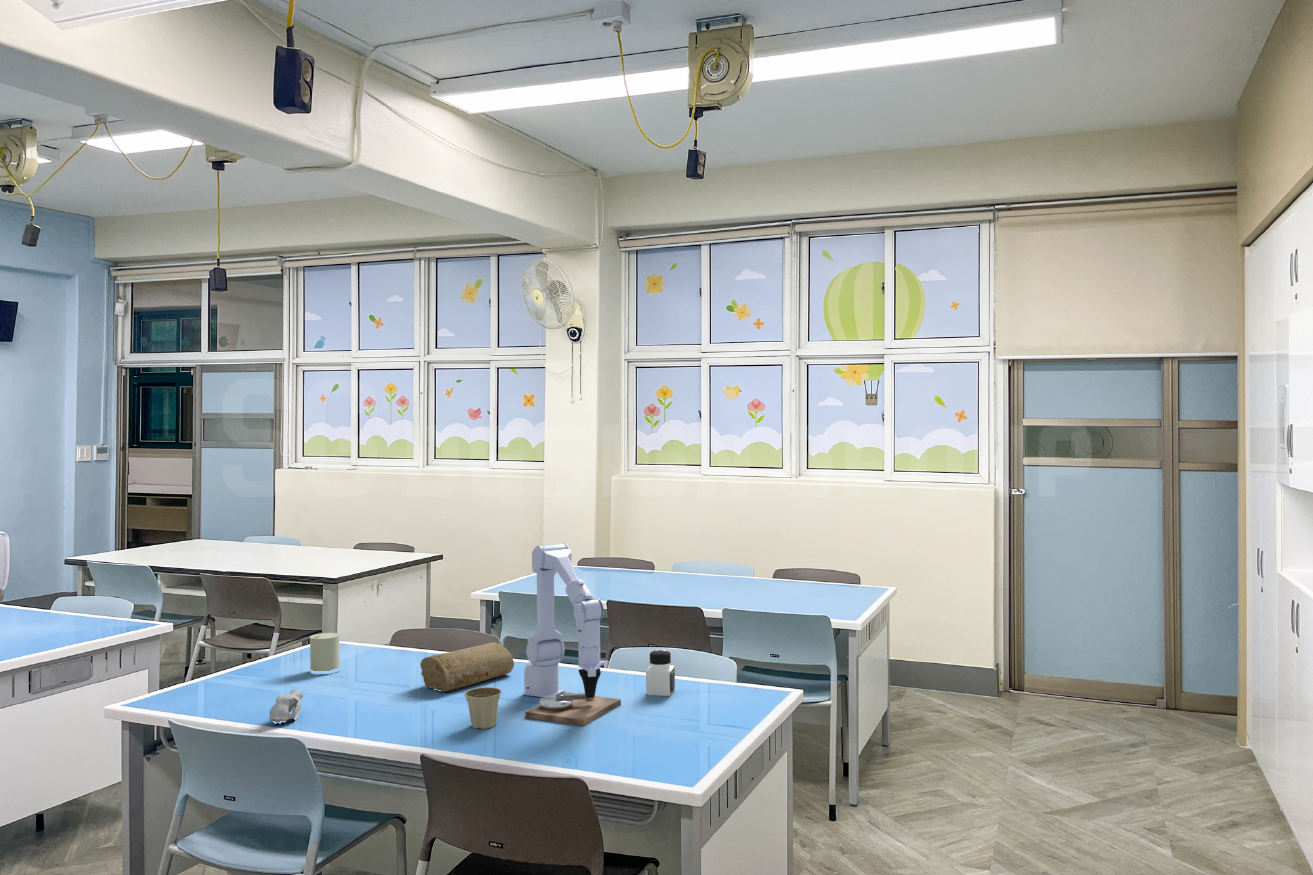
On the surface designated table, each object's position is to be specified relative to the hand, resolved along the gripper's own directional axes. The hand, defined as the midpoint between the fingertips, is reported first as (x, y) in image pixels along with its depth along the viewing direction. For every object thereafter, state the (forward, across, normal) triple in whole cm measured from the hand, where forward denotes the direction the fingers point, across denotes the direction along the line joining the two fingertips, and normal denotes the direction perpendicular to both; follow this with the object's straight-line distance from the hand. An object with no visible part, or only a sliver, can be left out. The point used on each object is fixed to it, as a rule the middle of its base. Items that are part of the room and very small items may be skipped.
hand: (590, 697), depth 240 cm
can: (+6, +66, +80) cm, 104 cm away
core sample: (+6, +44, +34) cm, 56 cm away
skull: (+6, +15, +79) cm, 81 cm away
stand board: (+5, +7, +4) cm, 10 cm away
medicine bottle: (+6, +20, -22) cm, 30 cm away
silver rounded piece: (+4, +7, +6) cm, 10 cm away
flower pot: (+6, -1, +28) cm, 28 cm away
